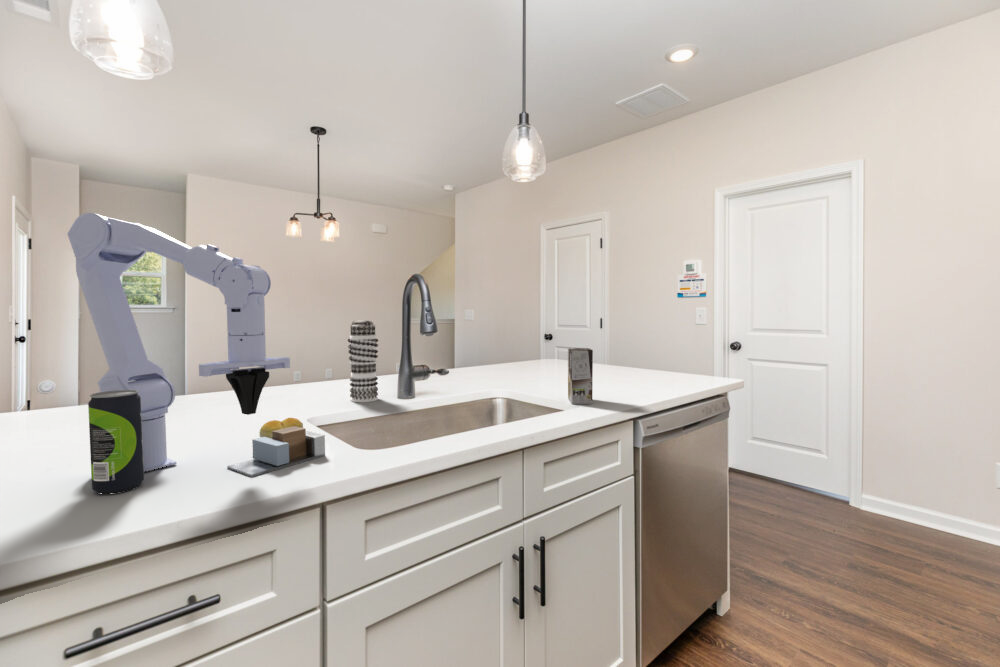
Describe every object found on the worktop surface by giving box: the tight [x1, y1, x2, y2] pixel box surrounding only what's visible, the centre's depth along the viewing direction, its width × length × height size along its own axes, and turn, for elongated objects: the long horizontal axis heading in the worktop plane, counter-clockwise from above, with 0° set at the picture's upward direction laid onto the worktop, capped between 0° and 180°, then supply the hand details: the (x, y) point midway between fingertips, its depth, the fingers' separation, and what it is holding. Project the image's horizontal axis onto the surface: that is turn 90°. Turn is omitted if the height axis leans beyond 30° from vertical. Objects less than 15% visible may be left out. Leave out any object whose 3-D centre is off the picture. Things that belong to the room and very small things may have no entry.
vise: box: [226, 430, 326, 478], centre depth 85 cm, size 14×8×4 cm, turn 146°
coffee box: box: [567, 347, 594, 405], centre depth 141 cm, size 9×6×16 cm
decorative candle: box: [347, 320, 379, 403], centre depth 146 cm, size 9×9×25 cm
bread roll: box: [259, 417, 304, 439], centre depth 103 cm, size 8×9×4 cm
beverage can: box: [87, 390, 145, 495], centre depth 72 cm, size 6×6×15 cm
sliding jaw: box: [251, 437, 289, 466], centre depth 84 cm, size 2×8×4 cm, turn 56°
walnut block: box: [272, 426, 307, 459], centre depth 87 cm, size 4×4×5 cm
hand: (248, 413), depth 80 cm, fingers closed
